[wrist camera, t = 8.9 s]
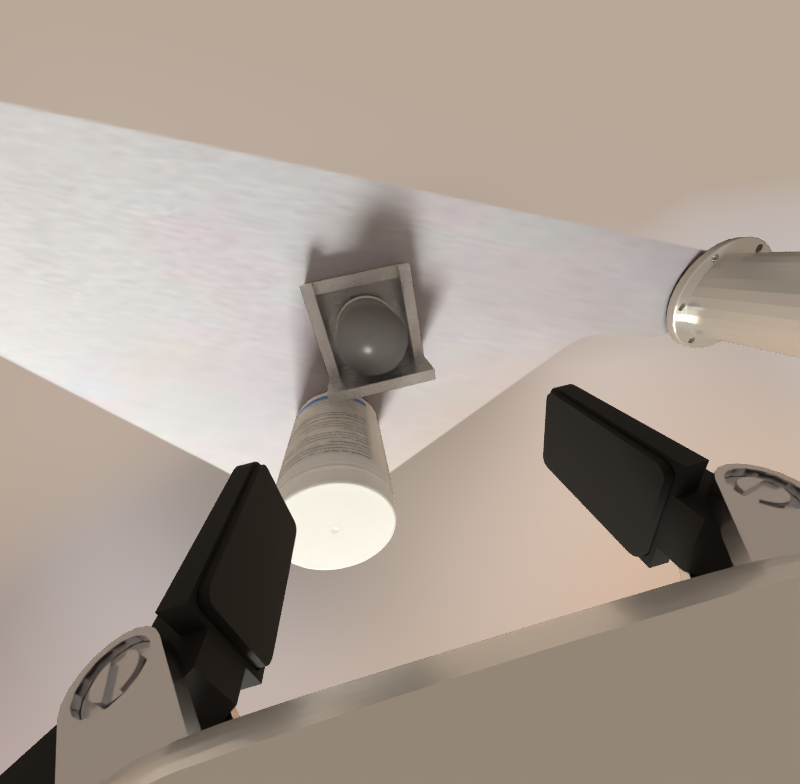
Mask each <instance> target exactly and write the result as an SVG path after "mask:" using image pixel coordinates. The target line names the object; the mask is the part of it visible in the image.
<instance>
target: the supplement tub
mask: <svg viewBox="0 0 800 784" xmlns="http://www.w3.org/2000/svg"><path fill="white" fill-rule="evenodd" d="M276 486H277V488H278V490H279V492H280V494H281V496H282V497H283V499H284V501H285V503H286V505H287V507H288V509H289V511H290V513H291V515H292V517H293V519H294V521H295V523H296V529H297V533H296V539H295V544H294V549H293V554H292V559H291V563H293V564H295V565H298V566H301V567H304V568H309V569H316V570H334V569H341V568H345V567H349V566H353V565H356V564H358V563H361V562H363V561H365V560H367V559H369V558H370V557H372V556H374V555H375V554H377V553H378V552H379V551H380V550H381V549H382V548H383V547H384V546H385V545H386V544H387V543H388V542H389V540H390V539H391V537H392V535H393V533H394V530H395V526H396V512H395V498H394V493H393V488H392V483H391V478H390V474H389V469H388V464H387V460H386V455H385V450H384V446H383V441H382V436H381V432H380V427H379V423H378V419H377V416H376V413H375V411H374V410H373V408H372V407H371V406H370V404H369V403H368V402H366V401H365V400H364V399H362V398H361V397H360V398H356V399H352V400H348V401H344V402H340V403H336V404H331V405H330V403H329V400H328V397H327V392H325V393H322V394H319V395H317V396H315V397H313V398H311V399H310V400H309V401H307V402H306V403H305V404H304V405H303V407H302V408H301V409H300V411H299V413H298V414H297V417H296V420H295V423H294V426H293V430H292V433H291V436H290V440H289V443H288V447H287V450H286V453H285V457H284V460H283V463H282V467H281V470H280V474H279V477H278V481H277V484H276Z"/></svg>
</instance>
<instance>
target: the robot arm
mask: <svg viewBox="0 0 800 784" xmlns="http://www.w3.org/2000/svg"><path fill="white" fill-rule="evenodd" d="M666 322H667V329H668V332H669V335H670V336H671V338H672V339H673V340H674V341H675V342H676V343H678V344H680V345H683V346H686V347H691V348H704V347H708V346H711V345H714V344H716V343H718V342H720V341H725V342H729V343H734V344H738V345H743V346H748V347H752V348H757V349H761V350H766V351H771V352H775V353H780V354H785V355H789V356H794V357H798V358H800V252H771V250H770V247H769V246H768V245H767V244H766V242H764V241H763V240H761V239H759V238H754V237H740V238H733V239H729V240H726V241H723V242H721V243H719V244H717V245H715V246H714V247H712V248H711V249H709V250H707V251H706V252H705V253H704V254H703V255H701V256H700V257H699V258H698V259H697V260H696V261H695V262H694V263H693V264H692V265H691V266H690V267H689V268H688V269H687V271H686V272H685V274H684V275H683V276H682V278H681V279H680V281H679V282H678V284H677V286H676V287H675V289H674V292H673V294H672V296H671V299H670V302H669V305H668V309H667V317H666ZM543 459H544V462H545V464H546V466H547V467H548V468H549V469H550V470H551V471H552V472H553V474H554V475H555V476H556V477H557V478H558V479H559V480H560V481H561V482H562V483H563V484H564V485H565V486H566V487H567V488H568V489H569V490H570V491H571V492H572V493H573V495H575V497H576V498H578V499H579V501H580V502H581V503H582V504H583V505H584V506H585V507H586V508H587V509H588V510H589V511H590V512H591V513H592V514H593V515H594V516H595V518H596V519H597V520H598V521H599V522H600V523H601V524H602V525H603V526H604V527H605V528H606V529H607V530H608V531H609V532H610V533H611V534H612V535H613V536H614V538H615V539H616V540H618V542H619V543H620V544H621V545H622V546H623V547H624V548H625V549H626V550H627V551H628V552H629V553H630V554H632V555H633V556H637V557H639V558H640V559H641V560H642V561H643V562H644V563H645V564H646V565H647V566H648V567H649V568H651V567H654V566H658V565H661V564H664V563H668V562H669V559H671V561H672V562H674V563H675V564H676V565H677V566H678V568H679V572H680V576H681V581H680V582H676V583H673V584H669V585H666V586H663V587H659V588H656V589H653V590H649V591H646V592H643V593H639V594H636V595H633V596H629V597H626V598H622V599H619V600H616V601H612V602H609V603H606V604H603V605H599V606H596V607H592V608H589V609H585V610H582V611H579V612H576V613H572V614H569V615H566V616H562V617H559V618H555V619H552V620H549V621H546V622H542V623H539V624H536V625H532V626H529V627H526V628H522V629H519V630H516V631H513V632H509V633H506V634H503V635H499V636H496V637H493V638H490V639H486V640H483V641H480V642H476V643H473V644H470V645H467V646H463V647H460V648H457V649H453V650H451V651H447V652H444V653H441V654H437V655H434V656H431V657H427V658H424V659H421V660H418V661H414V662H411V663H408V664H405V665H402V666H398V667H395V668H392V669H389V670H385V671H382V672H379V673H376V674H372V675H369V676H366V677H363V678H360V679H356V680H353V681H350V682H347V683H343V684H340V685H337V686H334V687H330V688H327V689H324V690H321V691H318V692H314V693H311V694H308V695H305V696H302V697H299V698H296V699H293V700H289V701H286V702H284V703H280V704H277V705H274V706H271V707H269V708H265V709H262V710H259V711H257V712H253V713H250V714H247V715H244V716H242V717H240V716H239V714H238V711H237V709H236V705H237V701H238V697H239V693H240V690H242V689H245V688H248V687H252V686H255V685H259V684H261V683H262V679H263V673H264V669H265V666H267V665H269V664H270V662H271V659H272V656H273V651H274V647H275V642H276V637H277V632H278V626H279V621H280V616H281V611H282V606H283V601H284V595H285V590H286V585H287V580H288V575H289V569H290V564H291V559H292V554H293V549H294V544H295V539H296V533H297V529H296V523H295V521H294V519H293V517H292V515H291V513H290V511H289V509H288V507H287V505H286V503H285V501H284V499H283V497H282V496H281V494H280V492H279V490H278V488H277V486H276V484H275V482H274V480H273V478H272V476H271V474H270V472H269V470H268V468H267V467H266V466H265V465H260V464H259V463H258V462H252V463H248V464H244V465H240V466H237V467H236V468H235V469H234V471H233V472H232V474H231V476H230V478H229V480H228V482H227V483H226V485H225V487H224V489H223V490H222V492H221V494H220V496H219V498H218V500H217V501H216V503H215V505H214V507H213V509H212V510H211V512H210V514H209V516H208V518H207V520H206V521H205V523H204V525H203V527H202V529H201V531H200V532H199V534H198V536H197V538H196V540H195V541H194V543H193V545H192V547H191V549H190V550H189V552H188V554H187V556H186V558H185V560H184V561H183V563H182V565H181V567H180V569H179V570H178V572H177V574H176V576H175V578H174V579H173V581H172V583H171V585H170V587H169V588H168V590H167V592H166V594H165V596H164V598H163V599H162V601H161V603H160V605H159V607H158V608H157V610H156V612H155V613H156V614H157V615H158V616H157V618H156V620H155V622H154V623H153V625H152V627H150V626H144V627H139V628H135V629H133V630H131V631H129V632H127V633H125V634H123V635H122V636H120V637H119V638H117V639H116V640H114V641H113V642H111V643H110V644H109V645H108V646H106V647H105V648H104V649H103V650H102V651H101V652H100V653H98V654H97V655H96V656H95V657H94V658H93V659H92V660H91V661H90V663H89V664H88V665H87V666H86V667H85V668H84V669H83V670H82V672H81V673H80V674H79V675H78V677H77V678H76V680H75V681H74V682H73V684H72V685H71V687H70V688H69V690H68V692H67V694H66V696H65V698H64V700H63V702H62V704H61V706H60V710H59V714H58V719H57V725H56V726H55V727H54V728H53V729H51V730H50V731H49V732H48V733H47V734H46V735H45V736H44V737H42V739H40V740H39V741H38V742H37V743H36V744H35V745H34V746H32V747H31V748H30V749H29V750H28V751H27V752H26V753H25V754H24V755H22V756H21V757H20V758H19V759H18V760H17V761H16V762H15V763H14V764H13V765H11V766H10V767H9V768H8V769H7V770H6V771H5V772H4V773H2V774H1V775H0V784H800V482H799V481H797V480H795V479H793V478H791V477H788V476H786V475H784V474H782V473H779V472H776V471H772V470H770V469H767V468H763V467H758V466H753V465H747V464H726V465H723V466H721V467H718V468H717V470H716V471H715V472H714V473H712V472H710V471H708V470H707V469H706V467H707V464H708V461H709V460H708V459H706V458H704V457H702V456H701V455H698V454H697V453H695V452H693V451H691V450H689V449H688V448H686V447H684V446H683V445H681V444H679V443H677V442H675V441H674V440H672V439H670V438H668V437H666V436H665V435H663V434H661V433H659V432H657V431H656V430H654V429H652V428H650V427H648V426H647V425H645V424H643V423H641V422H639V421H638V420H636V419H634V418H632V417H631V416H629V415H627V414H625V413H623V412H621V411H620V410H618V409H616V408H614V407H613V406H611V405H609V404H607V403H605V402H604V401H602V400H600V399H598V398H596V397H595V396H593V395H591V394H589V393H587V392H586V391H584V390H582V389H580V388H579V387H577V386H575V385H572V384H569V385H565V386H560V387H556V388H553V389H552V390H551V392H550V394H549V395H548V396H547V401H546V418H545V435H544V452H543Z"/></svg>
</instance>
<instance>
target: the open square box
mask: <svg viewBox="0 0 800 784" xmlns="http://www.w3.org/2000/svg"><path fill="white" fill-rule="evenodd" d="M299 287H300V290H301V293H302V296H303V299H304V302H305V305H306V308H307V311H308V314H309V317H310V320H311V323H312V326H313V330H314V333H315V336H316V339H317V342H318V345H319V348H320V351H321V354H322V357H323V360H324V363H325V366H326V369H327V372H328V375H329V384H328V390H327V397H328V400H329V403H330V405H331V404H336V403H340V402H344V401H348V400H352V399H356V398H360V397H364V396H369V395H373V394H377V393H381V392H385V391H389V390H393V389H397V388H402V387H406V386H410V385H414V384H418V383H422V382H426V381H430V380H435V379H436V378H435V370H434V368H433V367H432V365H431V364H430V363H429V362H428V360H427V359H426V358H425V357H424V353H423V347H422V340H421V334H420V327H419V321H418V314H417V308H416V301H415V295H414V289H413V282H412V276H411V269H410V263H400V264H395V265H391V266H386V267H381V268H376V269H372V270H367V271H362V272H358V273H353V274H348V275H343V276H339V277H334V278H329V279H324V280H320V281H315V282H310V283H305V284H303V285H301V286H299ZM362 295H370V296H375V297H377V298H380V299H382V300H383V301H384V302H386V303H387V304H388V305H389V306H390V307H391V308H392V310H393V311H394V313H395V314H396V315H397V316H398V317H399V318H400V319H401V321H402V322H403V324H404V326H405V329H406V332H407V339H408V340H407V348H406V352H405V354H404V356H403V358H402V360H401V361H400V362H399V364H398V365H397V366H396V367H394V368H393V369H392V370H390V371H388V372H386V373H384V374H380V375H372V376H370V375H363V374H360V373H357V372H355V371H353V370H352V369H350V368H349V367H348V366H347V365H346V364H345V363H344V362H343V361H342V359H341V358H340V356H339V354H338V351H337V347H336V333H337V329H336V325H337V318H338V315H339V312H340V310H341V309H342V307H343V306H344V305H345V304H346V303H347V302H348V301H349V300H351V299H353V298H355V297H357V296H362Z"/></svg>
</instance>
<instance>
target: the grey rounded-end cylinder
mask: <svg viewBox="0 0 800 784" xmlns="http://www.w3.org/2000/svg"><path fill="white" fill-rule="evenodd" d="M336 329H337V333H336V347H337V351H338V354H339V356H340V358H341V359H342V361H343V362H344V363H345V364H346V365H347V366H348V367H349V368H350V369H352V370H353V371H355V372H357V373H360V374H363V375H370V376H372V375H380V374H384V373H386V372H388V371H390V370H392V369H393V368H394V367H396V366H397V365H398V364H399V362H400V361H401V360H402V358H403V356H404V354H405V352H406V348H407V340H408V339H407V332H406V329H405V326H404V324H403V322H402V321H401V319H400V318H399V317H398V316H397V315H396V314H395V313H394V311H393V310H392V308H391V307H390V306H389V305H388V304H387V303H386V302H384V301H383V300H382V299H380V298H377V297H375V296H370V295H362V296H357V297H355V298H353V299H351V300H349V301H348V302H347V303H346V304H345V305H344V306H343V307H342V309H341V310H340V312H339V315H338V318H337V325H336Z"/></svg>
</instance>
